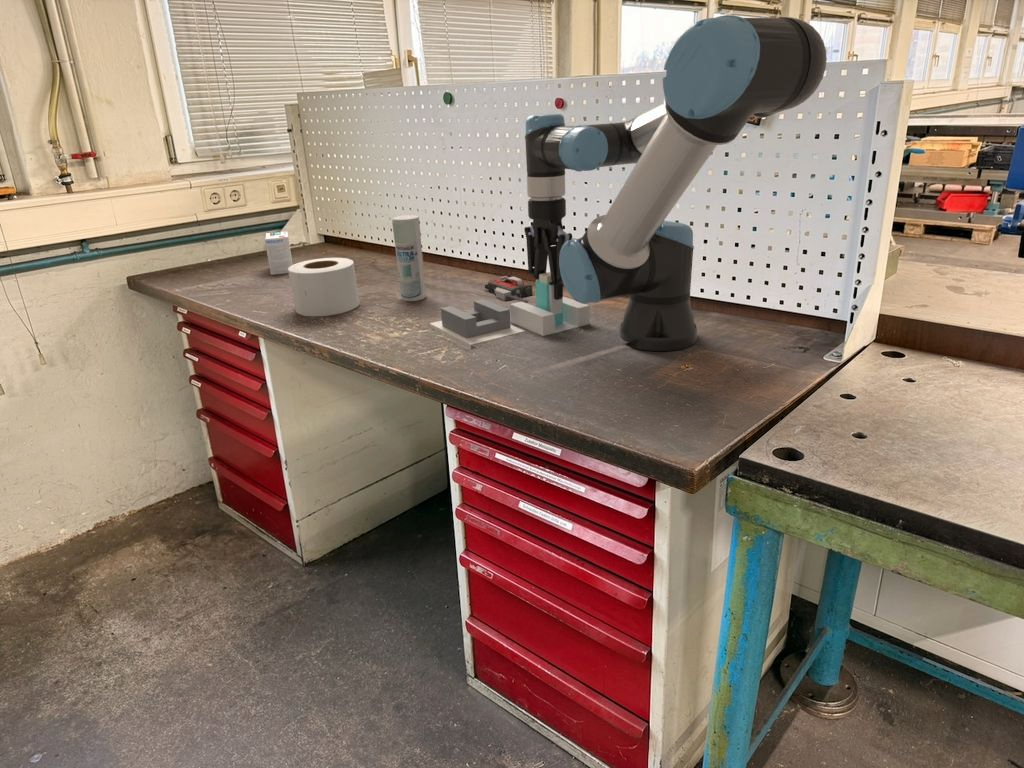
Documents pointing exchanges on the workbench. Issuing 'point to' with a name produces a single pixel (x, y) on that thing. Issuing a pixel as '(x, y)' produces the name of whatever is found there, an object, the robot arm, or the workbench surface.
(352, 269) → the roll of tape
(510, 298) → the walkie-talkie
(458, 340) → the grey notched fixture
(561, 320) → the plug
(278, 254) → the light bulb box
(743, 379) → the workbench surface
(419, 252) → the spray can
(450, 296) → the workbench surface
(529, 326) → the offset white blocks
